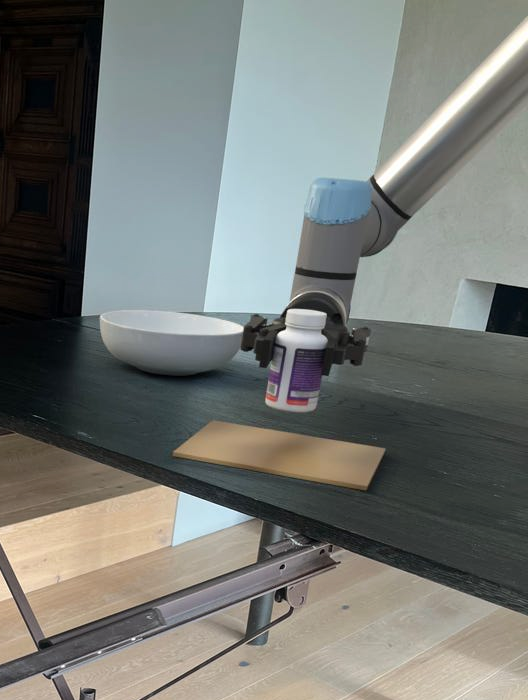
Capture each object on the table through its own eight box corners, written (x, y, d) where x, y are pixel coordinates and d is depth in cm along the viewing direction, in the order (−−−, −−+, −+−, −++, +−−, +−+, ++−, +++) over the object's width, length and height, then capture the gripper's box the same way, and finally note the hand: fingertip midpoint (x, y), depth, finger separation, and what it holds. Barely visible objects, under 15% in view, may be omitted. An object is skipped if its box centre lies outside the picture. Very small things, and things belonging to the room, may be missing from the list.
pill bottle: (322, 407, 106) (341, 313, 102) (305, 416, 102) (324, 318, 97) (274, 397, 108) (291, 305, 104) (256, 406, 104) (272, 310, 100)
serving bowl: (267, 384, 140) (275, 334, 136) (134, 388, 132) (139, 335, 129) (194, 354, 157) (200, 308, 153) (73, 355, 149) (76, 308, 146)
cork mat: (385, 452, 111) (386, 448, 111) (366, 491, 98) (367, 486, 97) (211, 424, 117) (212, 419, 117) (172, 456, 104) (173, 451, 104)
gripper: (385, 366, 117) (383, 408, 97) (230, 347, 122) (198, 383, 102) (399, 300, 114) (401, 329, 94) (240, 283, 118) (209, 307, 98)
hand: (296, 357), depth 98 cm, fingers closed on pill bottle, 5 cm apart
